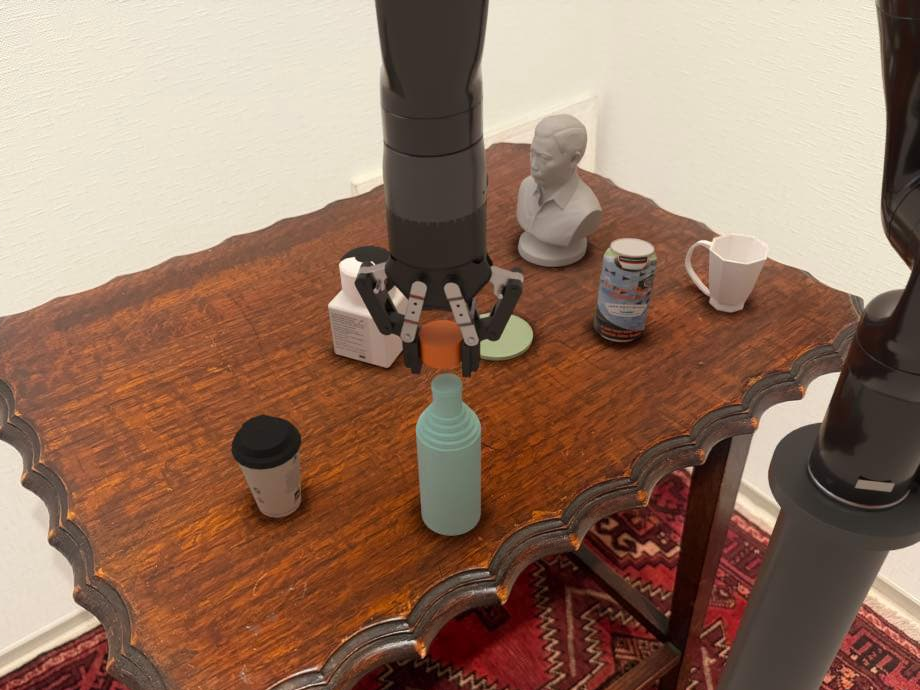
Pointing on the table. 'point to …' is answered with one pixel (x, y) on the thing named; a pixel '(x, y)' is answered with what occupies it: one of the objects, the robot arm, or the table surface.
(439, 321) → the cap
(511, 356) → the coaster
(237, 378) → the table surface
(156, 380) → the table surface
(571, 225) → the figurine
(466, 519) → the bottle
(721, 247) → the cup
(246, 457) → the coffee cup
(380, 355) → the container
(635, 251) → the beverage can
